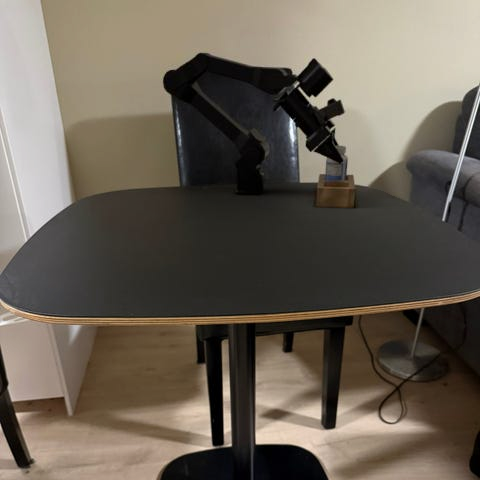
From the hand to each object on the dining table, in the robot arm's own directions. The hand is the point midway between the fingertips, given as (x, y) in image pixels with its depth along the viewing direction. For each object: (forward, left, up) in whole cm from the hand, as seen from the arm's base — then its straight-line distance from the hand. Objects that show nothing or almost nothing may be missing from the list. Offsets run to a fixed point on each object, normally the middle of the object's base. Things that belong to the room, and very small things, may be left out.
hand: (342, 160), depth 122 cm
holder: (-1, -4, -9) cm, 10 cm away
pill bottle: (-1, 0, -7) cm, 7 cm away
